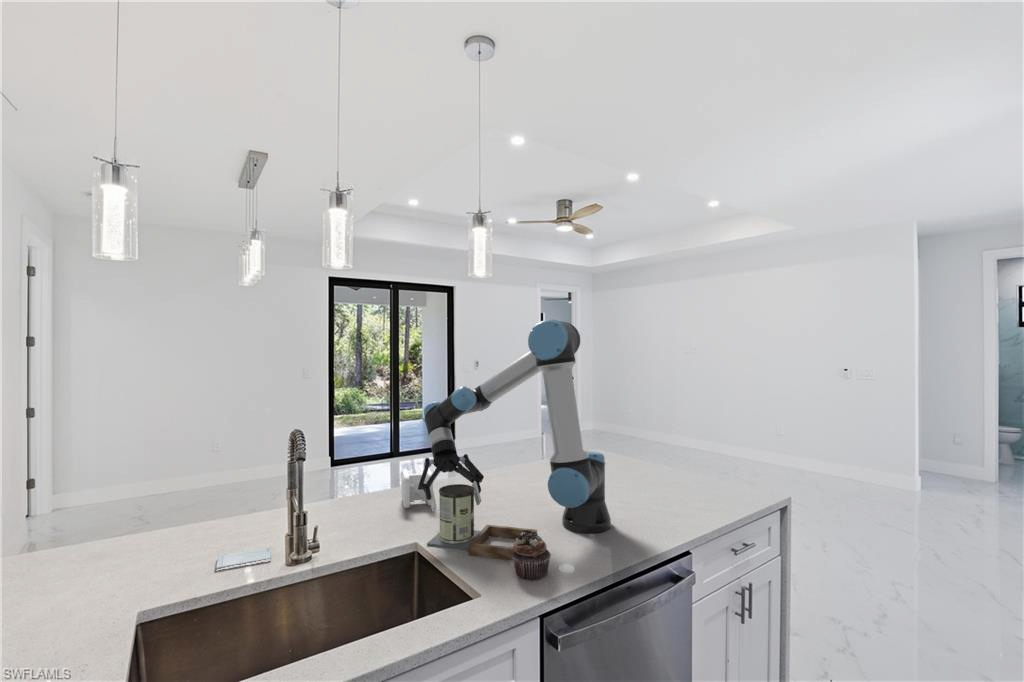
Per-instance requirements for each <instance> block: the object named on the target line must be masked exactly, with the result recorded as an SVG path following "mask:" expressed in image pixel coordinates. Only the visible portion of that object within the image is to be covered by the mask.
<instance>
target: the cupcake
mask: <svg viewBox="0 0 1024 682" xmlns="http://www.w3.org/2000/svg"><path fill="white" fill-rule="evenodd" d="M529 533H530V532H528V531H526V530H524V531H523V533H521V536H518V537H517V538H516V539H515V542H514V544H513V546H512V548H513V549H512V552H511V553H512V557H513V561H512V562H513V565H514V571H515V576H517V578H519V579H521V580H525V581H539V580H542V579H544V578H546V577H547V575H548V570H549V564H550V559H551V553H550V551H549V550H548V549H547V544H546V542H545V541H544V540H543V539H542V537H541V536H540V535H539V534H538V531H537V532H531V535H529Z"/></svg>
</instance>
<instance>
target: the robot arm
mask: <svg viewBox="0 0 1024 682" xmlns="http://www.w3.org/2000/svg"><path fill="white" fill-rule="evenodd" d="M527 344H528V345H527V346H528V348H529V351H528V352H527V353H525V354H523V355H521V356H520V357H519V358H518V359H516V360H514V361H513V362H512V363H510V364H508V365H507V366H505V367H504V368H503V369H501V370H500V371H498V372H496V373H495V374H494V375H492V376H491V377H489V378H487V380H485V381H484V382H482V383H480V384H479V385H478V386H476V387H475V388H473V389H471V388H470V387H467V386H465V385H464V386H463V385H462V386H460V387H459V388H457V389H455V390H454V391H453V392H451V394H450V395H449V396H448V397H446V398H445V399H444V400H443V401H442V402H441V401H432V403H427V405H426V406H425V407H424V410H423V417H424V423H425V427H426V429H427V433H428V435H427V436H428V439H429V445H430V448H431V454H432V459H430V458H429V457H425V459H424V463H423V467H424V468H423V471H422V473H421V474H422V476H421V479H420V482H419V485H418V490H421V489H422V490H424V492H425V494H426V499H427V500H430V503H431V512H436V509H437V507H438V506H437V503H436V497H435V492H434V486H433V487H432V486H431V485H432V483H433V484H434V482H435V480H436V478H437V477H438V476H439V475H440V473H444V474H445V473H448V472H449V473H452V472H455V473H457V474H458V473H459V474H460V476H462V477H463V478H464V479H465V480H467V481H468V482H470V483H472V484H471V486H472V487H474V502H475V503H476V506H480V505H481V502H482V498H481V495H480V494H481V492H482V487H481V484H480V483H482V482H483V480H484V477H485V476H484V474H482V472H481V471H480V470H479V469H478V468H477V467H476V465H475V464H474V463H473V462H472V460H470V458H469V455H468V454H466V453H464V455H463V456H459V455H458V453H457V449H456V448H457V447H456V444H455V440H454V437H453V436H454V435H453V433H452V428H451V424H453V423H454V422H456V420H457V419H459V418H461V416H464V415H467V414H472V413H475V412H482V411H484V410H486V409H488V408H489V407H491V405H492V404H493V403H494V402H495V401H497V400H498V399H500V398H501V397H503V396H505V395H506V394H508V393H509V392H511V391H513V390H514V389H515V388H517V387H518V386H520V385H522V384H523V383H525V382H526V381H527V380H530V379H531V378H533V377H534V376H536V375H537V374H539V373H540V372H542V375H543V385H544V391H545V397H546V404H547V413H548V420H549V427H550V435H551V441H552V449H553V454H552V456H551V457H550V458H549V465H550V470H551V474H550V475H549V477H548V481H547V490H548V493H549V495H550V497H551V498H552V500H553V501H555V502H556V503H557V504H558V505H560V506H561V507H563V508H564V510H563V513H562V526H563V527H564V528H566V529H568V530H569V531H573V532H576V533H580V534H581V533H582V534H583V533H584V534H596V533H603V532H606V531H608V530H609V529H610V528H611V527H612V525H611V524H612V523H611V522H612V521H611V520H612V519H611V516H610V513H609V509H608V507H607V503H606V499H605V498H606V481H605V480H606V479H605V478H606V475H605V474H606V472H605V471H606V469H605V468H606V461H605V459H606V458H605V455H604V454H603V453H601V452H597V451H588V450H587V451H586V450H584V447H583V440H582V433H581V427H580V420H579V413H578V406H577V398H576V393H575V385H574V378H573V372H572V369H573V367H574V365H575V364H576V363H577V362H576V356H575V354H576V353H577V352H578V350H579V348H580V346H581V334H580V332H579V330H578V329H577V328H576V327H575V326H574V325H573V324H572V323H570V322H568V321H559V320H557V319H546V320H541V321H540V322H537V323H536V324H535V325H534V326H533V327H532V329H531V330H530V331H529V334H528V338H527ZM460 462H461V463H460ZM432 465H433V466H434V467H435V469H434V471H433V472H432V475H431V477H430V478H429V480H428V481H427V483H426V484H424V480H425V477H426V474H427V471H428V468H429V469H430V468H431V467H432ZM463 465H464V466H463ZM430 486H431V487H430Z"/></svg>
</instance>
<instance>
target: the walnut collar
mask: <svg viewBox="0 0 1024 682" xmlns="http://www.w3.org/2000/svg"><path fill="white" fill-rule="evenodd" d="M524 530H526V531H528V532H530V533H529V535H531V532H537V533H538V529H535V528H523V527H515V526H507V525H506V526H505V525H504V526H503V525H495V524H486V525H485V526H484V527H483V528H482V529H481V530H480V531H481V532H480V533H479V534H478V535H477V536H476V537H475V538H474V539H473V540H472V541H471V542H470V543H469V544H468V550H467V552H468V555H469V557H477V558H486V559H493V560H502V561H509V562H510V561H511V562H514V561H513V557H512V553H511V552H512V549H513V546H512V547H510V546H503V545H494V544H487V543H486V544H485V542H486V541H487V540H488V539H489V536H490V537H491V538H492V537H493V538H498V537H501V538H500V539H507V538H508V539H507V540H516V538H517V537H518V536H521V533H523V531H524Z"/></svg>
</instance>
